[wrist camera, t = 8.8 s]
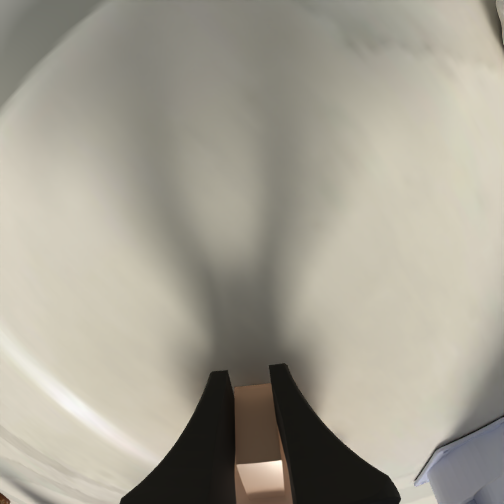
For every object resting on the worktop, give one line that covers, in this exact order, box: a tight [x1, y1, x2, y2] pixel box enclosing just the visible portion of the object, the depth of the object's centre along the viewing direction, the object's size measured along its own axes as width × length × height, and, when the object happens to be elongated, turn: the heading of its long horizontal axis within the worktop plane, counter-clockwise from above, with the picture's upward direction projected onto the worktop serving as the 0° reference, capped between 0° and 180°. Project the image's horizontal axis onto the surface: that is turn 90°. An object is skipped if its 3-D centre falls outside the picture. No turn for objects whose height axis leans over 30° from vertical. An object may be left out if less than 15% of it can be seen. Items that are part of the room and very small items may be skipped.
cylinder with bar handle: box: [234, 383, 293, 504], centre depth 13 cm, size 11×6×6 cm, turn 6°
